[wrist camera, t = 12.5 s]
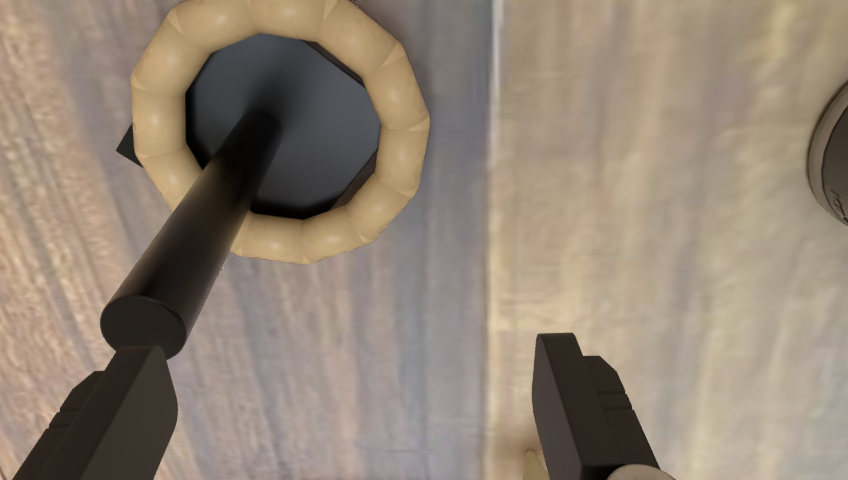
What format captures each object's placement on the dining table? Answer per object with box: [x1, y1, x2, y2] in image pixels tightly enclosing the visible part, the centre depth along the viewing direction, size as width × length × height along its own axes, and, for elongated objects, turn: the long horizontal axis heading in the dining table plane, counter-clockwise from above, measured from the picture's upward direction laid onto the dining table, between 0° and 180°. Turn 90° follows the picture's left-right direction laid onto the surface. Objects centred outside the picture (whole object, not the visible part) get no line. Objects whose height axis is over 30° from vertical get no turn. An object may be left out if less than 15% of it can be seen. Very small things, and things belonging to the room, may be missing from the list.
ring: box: [130, 0, 430, 264], centre depth 26 cm, size 12×12×2 cm
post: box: [100, 33, 381, 360], centre depth 22 cm, size 9×9×15 cm
